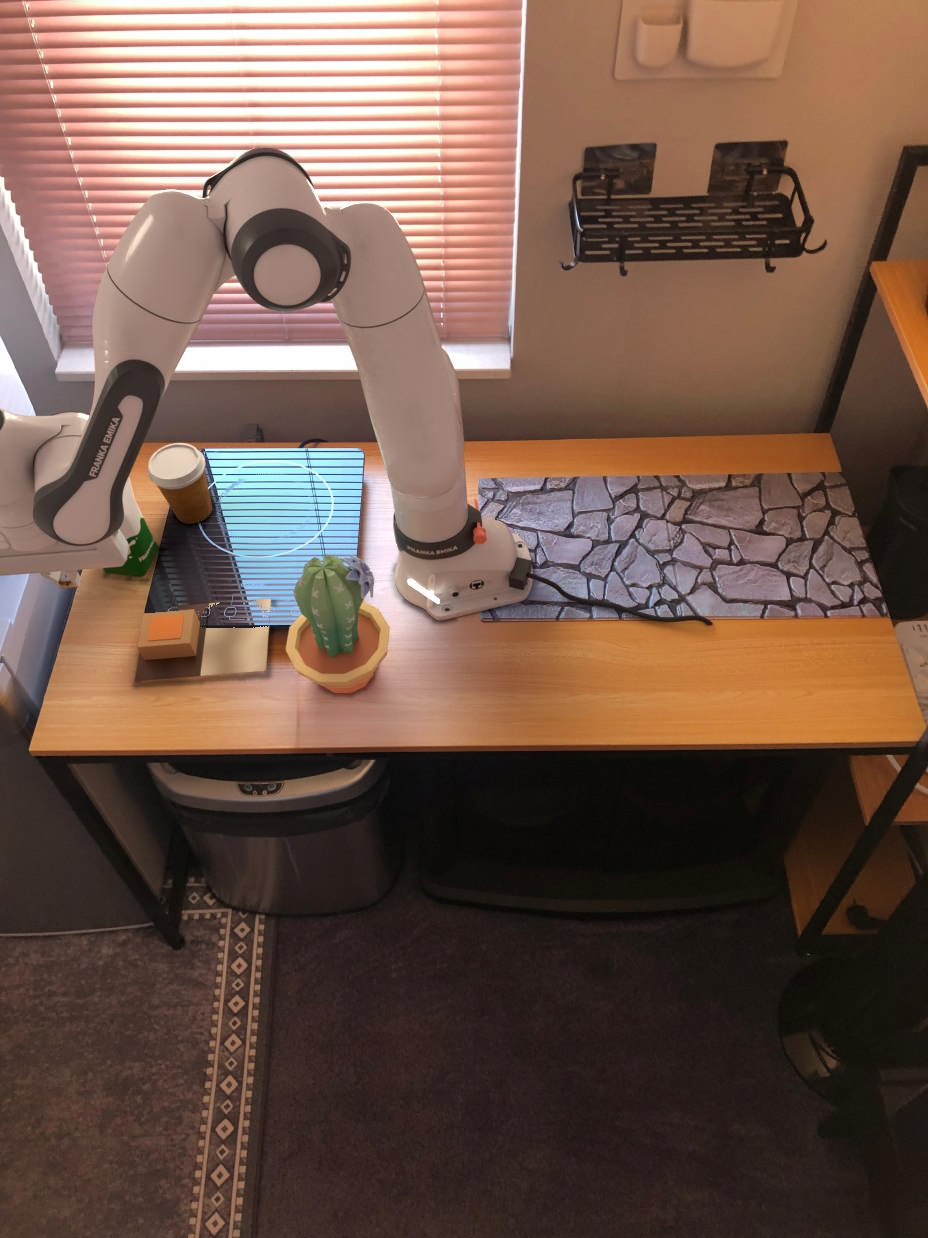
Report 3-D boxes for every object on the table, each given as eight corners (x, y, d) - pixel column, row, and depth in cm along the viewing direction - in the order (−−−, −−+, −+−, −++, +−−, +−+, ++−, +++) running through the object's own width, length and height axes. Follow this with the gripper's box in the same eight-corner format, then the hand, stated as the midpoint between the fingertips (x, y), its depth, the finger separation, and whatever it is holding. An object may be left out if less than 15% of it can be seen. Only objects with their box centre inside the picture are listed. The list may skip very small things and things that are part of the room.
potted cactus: (376, 722, 139) (352, 621, 119) (279, 699, 142) (240, 596, 122) (409, 639, 147) (392, 531, 127) (318, 618, 150) (287, 510, 130)
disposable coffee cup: (216, 530, 163) (197, 480, 153) (162, 531, 163) (139, 481, 154) (225, 490, 169) (207, 439, 159) (172, 491, 169) (151, 441, 159)
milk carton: (120, 540, 163) (76, 454, 147) (169, 546, 161) (130, 460, 145) (98, 579, 158) (50, 495, 142) (148, 586, 156) (106, 501, 140)
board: (272, 602, 153) (271, 598, 152) (267, 675, 144) (265, 670, 144) (149, 612, 153) (146, 608, 152) (137, 685, 144) (134, 681, 144)
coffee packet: (200, 622, 150) (194, 608, 147) (196, 656, 146) (189, 642, 143) (149, 626, 150) (142, 612, 147) (144, 660, 146) (136, 647, 143)
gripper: (113, 494, 126) (145, 561, 137) (-40, 506, 126) (5, 572, 137) (105, 529, 122) (139, 595, 133) (-53, 542, 122) (-6, 607, 133)
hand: (70, 584), depth 135 cm, fingers closed
